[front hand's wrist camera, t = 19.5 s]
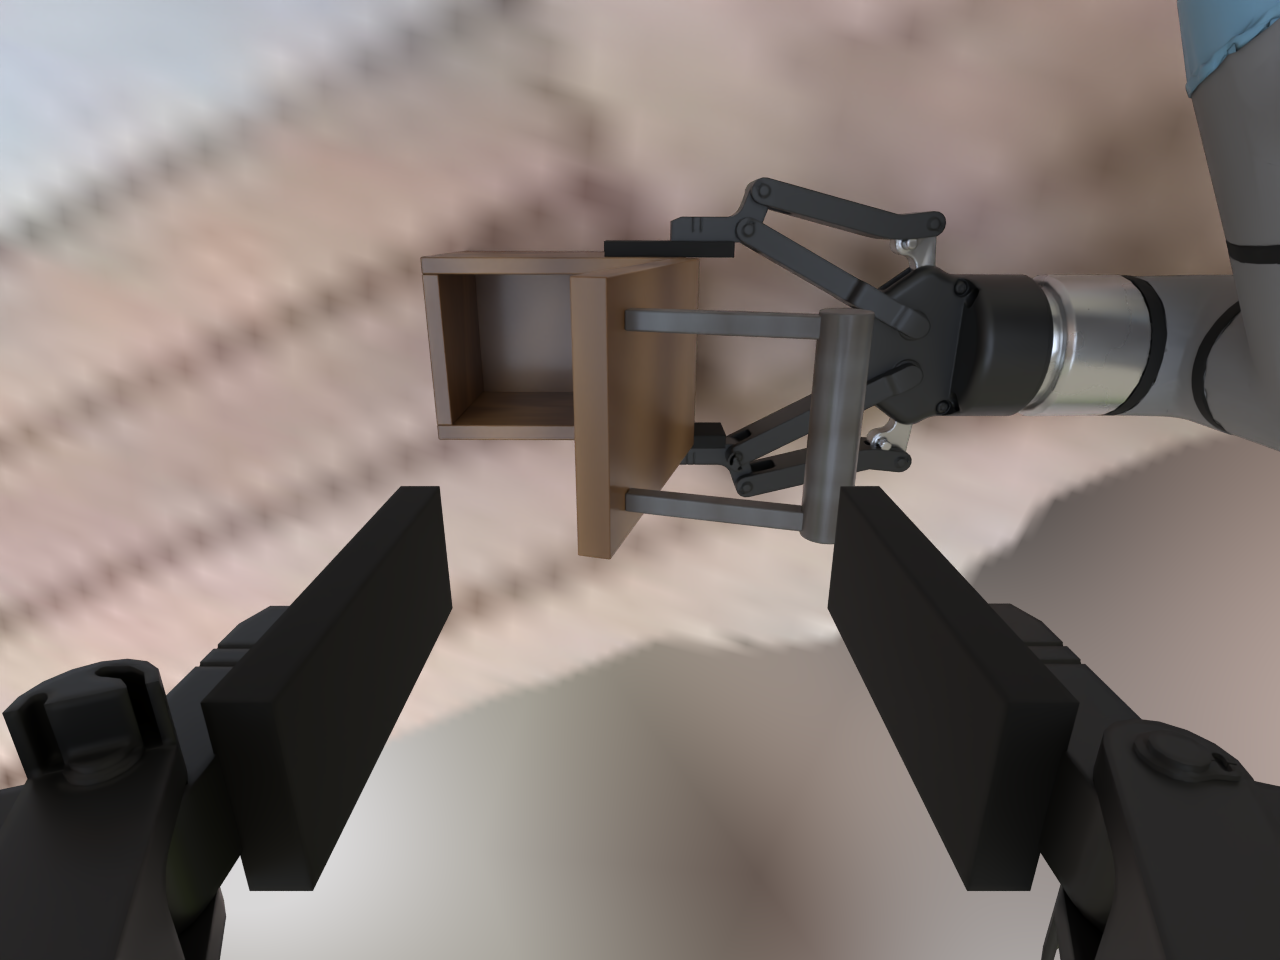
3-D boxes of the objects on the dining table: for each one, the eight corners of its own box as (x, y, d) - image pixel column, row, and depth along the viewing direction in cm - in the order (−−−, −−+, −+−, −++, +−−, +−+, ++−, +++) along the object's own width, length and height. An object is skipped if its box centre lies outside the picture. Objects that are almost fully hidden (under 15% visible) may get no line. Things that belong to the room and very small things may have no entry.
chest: (475, 401, 45) (438, 440, 37) (462, 251, 42) (419, 256, 34) (673, 401, 45) (681, 440, 37) (676, 251, 42) (686, 257, 34)
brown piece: (577, 556, 24) (845, 591, 22) (568, 275, 21) (881, 283, 18) (671, 443, 37) (847, 458, 34) (675, 258, 33) (869, 261, 31)
